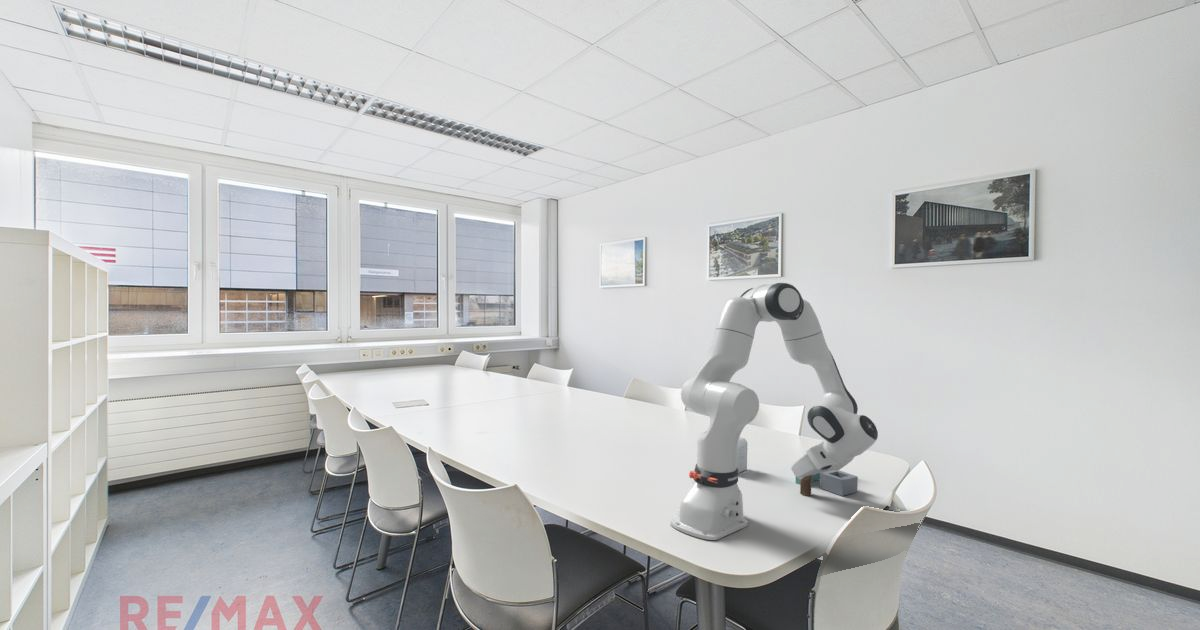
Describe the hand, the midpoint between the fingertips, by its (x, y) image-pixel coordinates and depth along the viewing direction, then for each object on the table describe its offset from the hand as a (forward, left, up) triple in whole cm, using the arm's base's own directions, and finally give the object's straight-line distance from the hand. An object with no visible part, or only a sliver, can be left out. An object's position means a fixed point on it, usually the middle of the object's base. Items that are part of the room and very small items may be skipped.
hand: (804, 476), depth 152 cm
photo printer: (+5, +25, -6) cm, 26 cm away
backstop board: (+17, +1, -6) cm, 18 cm away
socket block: (+11, -8, -6) cm, 14 cm away
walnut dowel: (0, -1, -6) cm, 6 cm away
